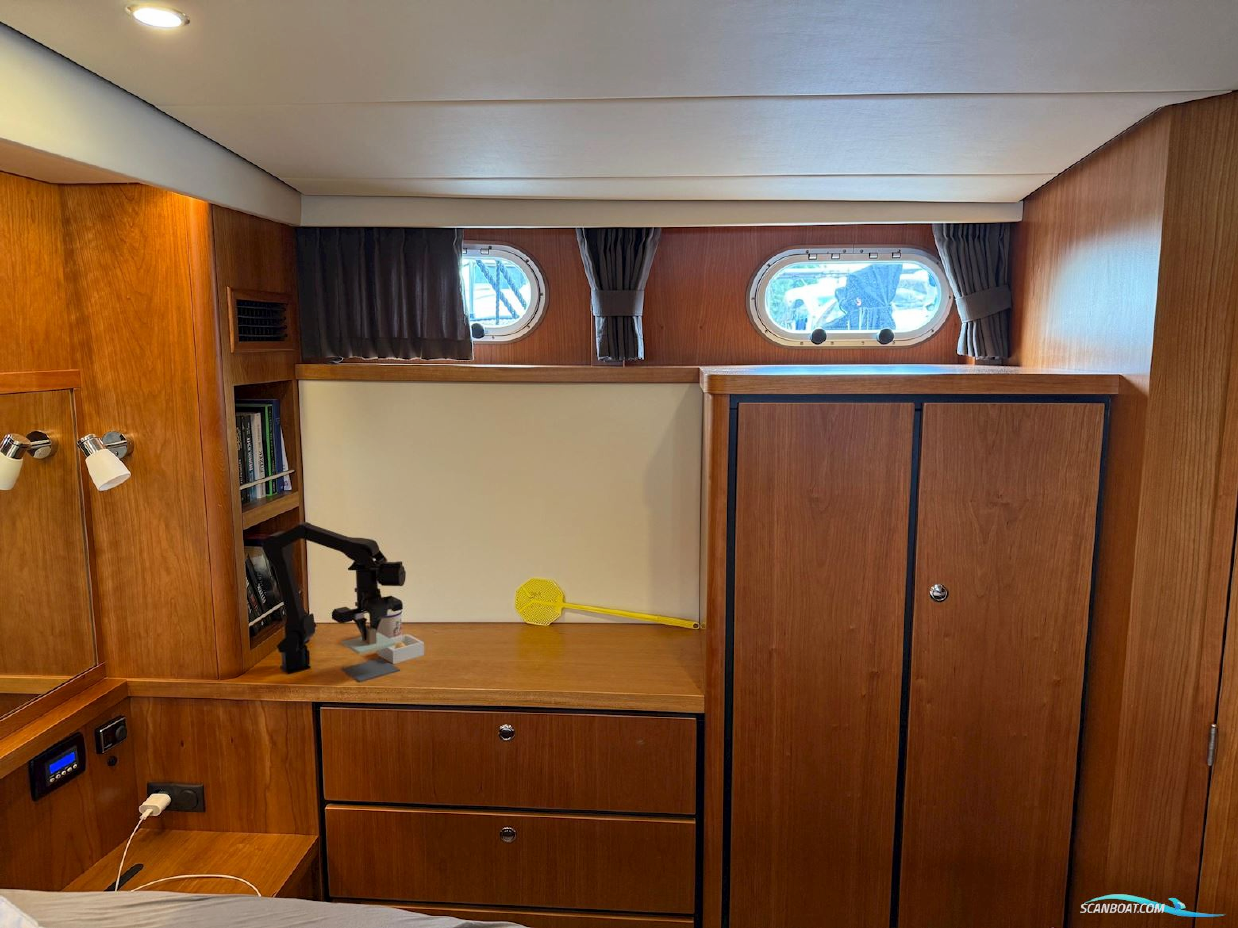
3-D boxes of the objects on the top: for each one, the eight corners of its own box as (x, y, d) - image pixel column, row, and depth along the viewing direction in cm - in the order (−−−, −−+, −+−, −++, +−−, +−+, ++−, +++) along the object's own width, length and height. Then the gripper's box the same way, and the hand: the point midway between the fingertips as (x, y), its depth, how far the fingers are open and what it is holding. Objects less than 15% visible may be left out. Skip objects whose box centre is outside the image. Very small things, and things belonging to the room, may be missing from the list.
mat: (359, 682, 214) (359, 680, 214) (341, 669, 223) (340, 668, 223) (400, 670, 222) (400, 669, 222) (380, 659, 231) (380, 657, 231)
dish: (393, 663, 227) (392, 650, 227) (377, 654, 234) (376, 641, 234) (424, 655, 234) (423, 642, 234) (407, 646, 241) (407, 633, 241)
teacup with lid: (399, 643, 244) (398, 606, 243) (369, 643, 244) (368, 607, 242) (407, 630, 256) (406, 595, 255) (379, 630, 256) (378, 595, 254)
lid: (359, 654, 214) (358, 637, 213) (342, 644, 222) (341, 627, 221) (396, 644, 221) (396, 628, 221) (378, 635, 229) (377, 619, 229)
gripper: (347, 598, 207) (349, 654, 209) (411, 584, 220) (413, 638, 222) (329, 589, 215) (332, 643, 217) (392, 576, 228) (394, 628, 230)
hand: (368, 638), depth 221 cm, fingers closed on lid
